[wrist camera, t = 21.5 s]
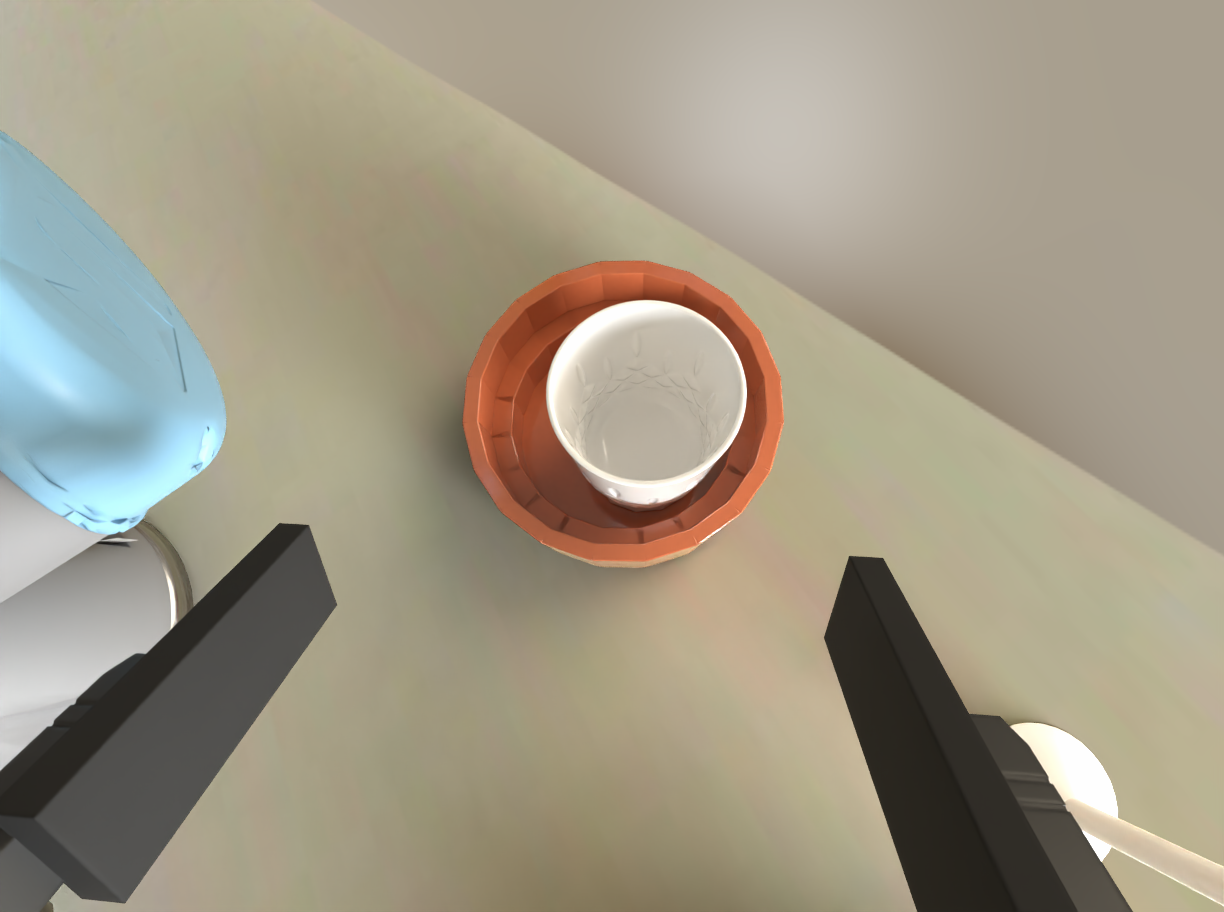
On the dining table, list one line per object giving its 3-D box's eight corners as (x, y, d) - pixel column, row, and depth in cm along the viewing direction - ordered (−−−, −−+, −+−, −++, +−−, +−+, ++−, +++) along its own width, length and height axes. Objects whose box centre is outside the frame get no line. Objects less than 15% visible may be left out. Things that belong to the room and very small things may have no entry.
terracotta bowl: (532, 604, 29) (506, 606, 23) (469, 359, 33) (434, 309, 27) (796, 519, 30) (835, 501, 24) (703, 289, 34) (716, 225, 28)
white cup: (619, 549, 29) (610, 526, 19) (550, 433, 31) (510, 359, 21) (739, 476, 30) (787, 419, 20) (664, 367, 32) (676, 267, 22)
